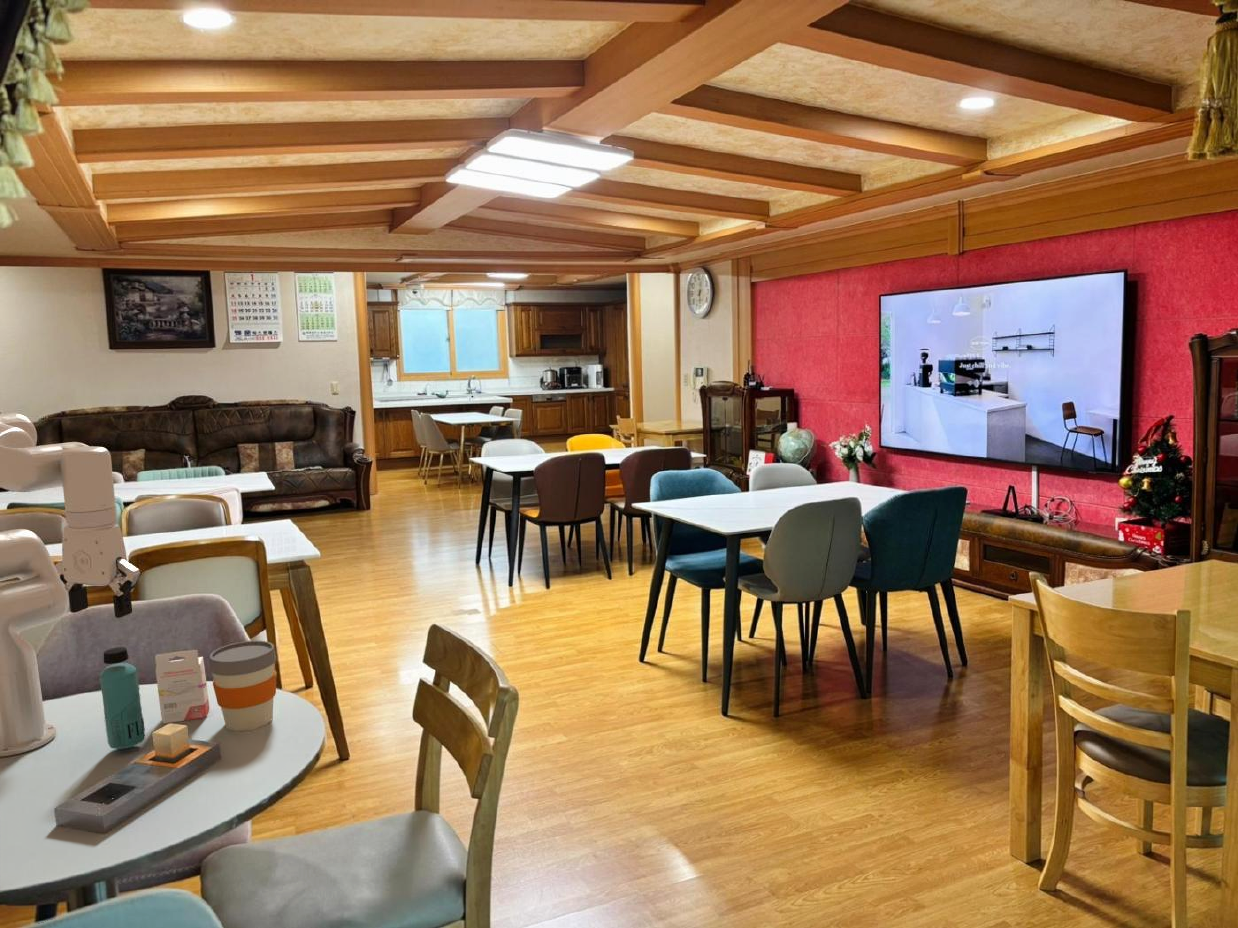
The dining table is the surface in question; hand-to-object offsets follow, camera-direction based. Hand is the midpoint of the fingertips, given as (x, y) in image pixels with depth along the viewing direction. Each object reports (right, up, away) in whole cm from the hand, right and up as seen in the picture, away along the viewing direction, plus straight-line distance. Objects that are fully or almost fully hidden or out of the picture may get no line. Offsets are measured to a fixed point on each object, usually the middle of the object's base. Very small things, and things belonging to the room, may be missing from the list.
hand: (101, 612), depth 158 cm
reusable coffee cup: (+16, -27, +25) cm, 40 cm away
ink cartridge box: (+1, -27, +29) cm, 39 cm away
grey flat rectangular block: (+8, -31, -2) cm, 32 cm away
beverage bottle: (-3, -29, +14) cm, 32 cm away
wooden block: (+10, -30, +5) cm, 32 cm away
